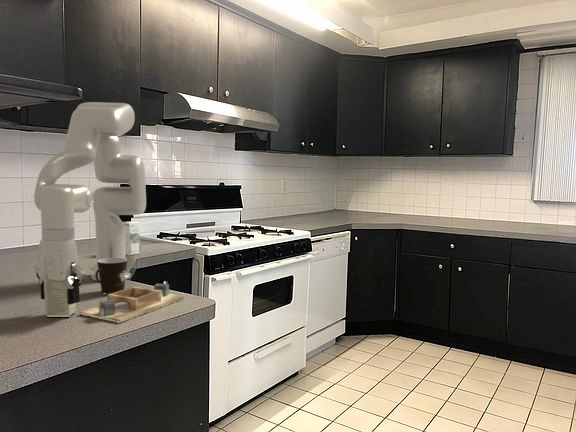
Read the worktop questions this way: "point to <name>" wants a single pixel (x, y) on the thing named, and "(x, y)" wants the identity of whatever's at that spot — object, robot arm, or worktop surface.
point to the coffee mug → (111, 274)
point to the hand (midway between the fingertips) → (60, 300)
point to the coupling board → (133, 302)
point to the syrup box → (132, 237)
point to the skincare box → (57, 297)
